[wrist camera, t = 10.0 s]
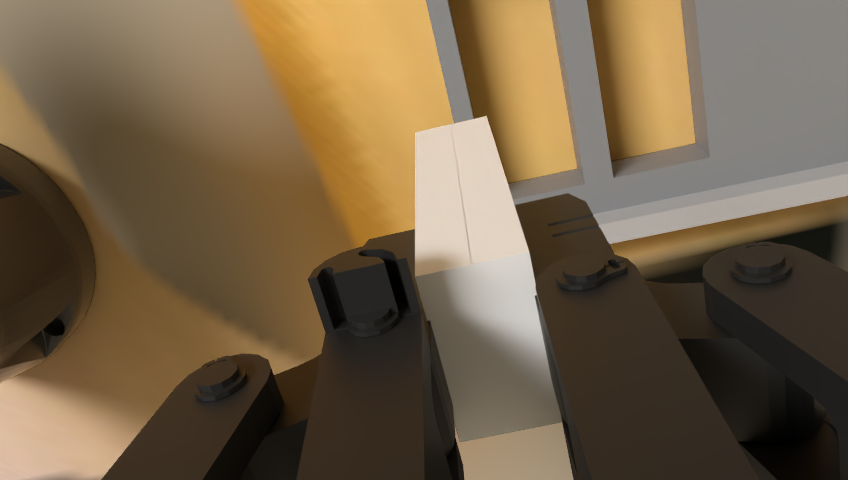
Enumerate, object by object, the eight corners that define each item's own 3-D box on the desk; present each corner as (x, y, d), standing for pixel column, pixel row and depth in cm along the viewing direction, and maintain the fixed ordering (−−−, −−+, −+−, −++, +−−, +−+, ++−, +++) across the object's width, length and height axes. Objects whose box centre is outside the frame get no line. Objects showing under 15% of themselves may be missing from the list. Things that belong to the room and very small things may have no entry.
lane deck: (483, 238, 45) (487, 281, 40) (408, -88, 38) (402, -85, 33) (1071, 116, 42) (1157, 147, 37) (1109, -271, 34) (1222, -299, 29)
